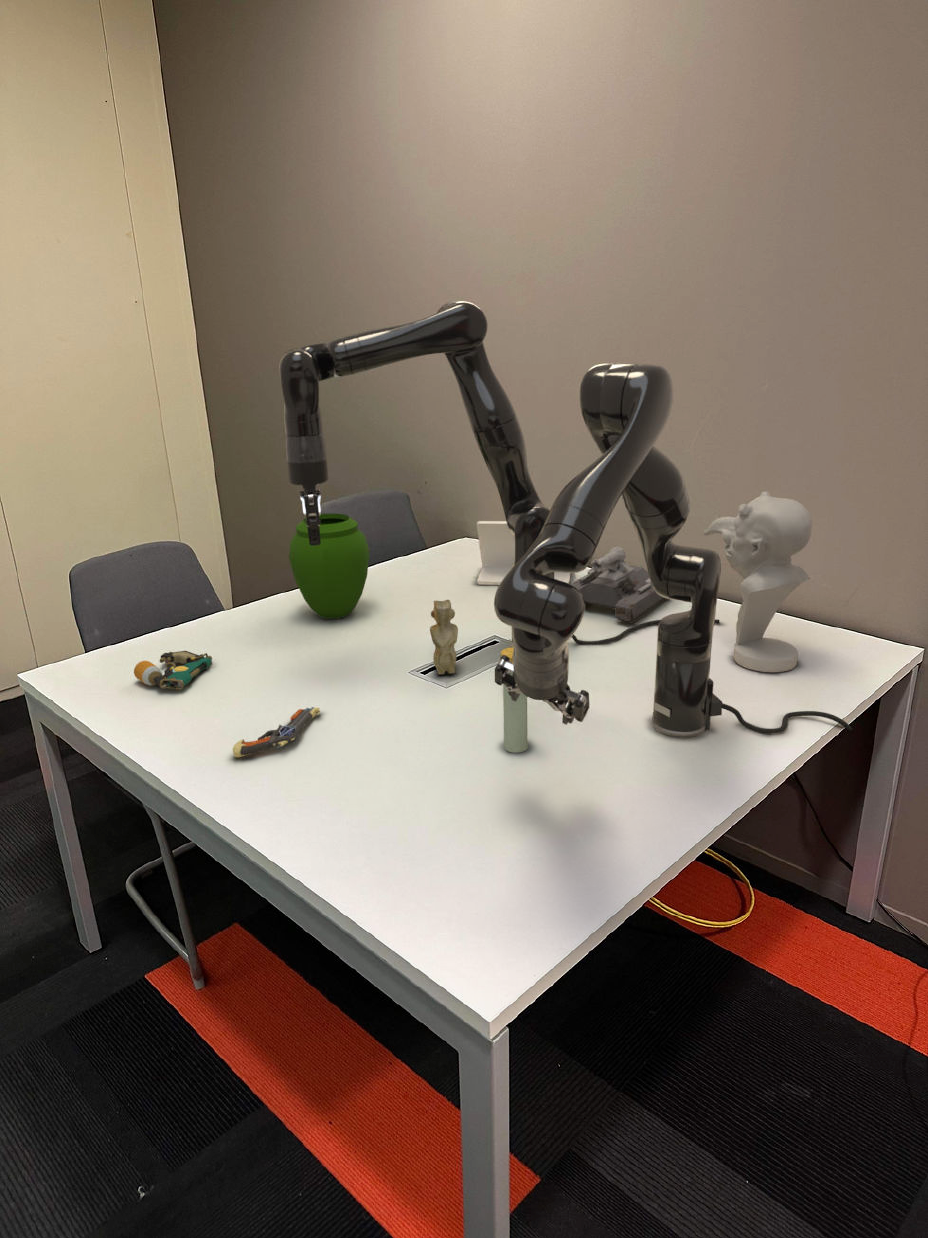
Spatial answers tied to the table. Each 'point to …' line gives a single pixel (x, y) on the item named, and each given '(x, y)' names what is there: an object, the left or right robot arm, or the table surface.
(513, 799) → the table surface
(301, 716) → the toy gun
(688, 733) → the right robot arm
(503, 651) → the lid
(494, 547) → the tablet stand
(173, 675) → the spray gun
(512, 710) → the pale green cylinder
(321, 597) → the vase
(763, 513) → the bust sculpture
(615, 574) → the toy
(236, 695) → the table surface
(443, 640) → the sculpture
